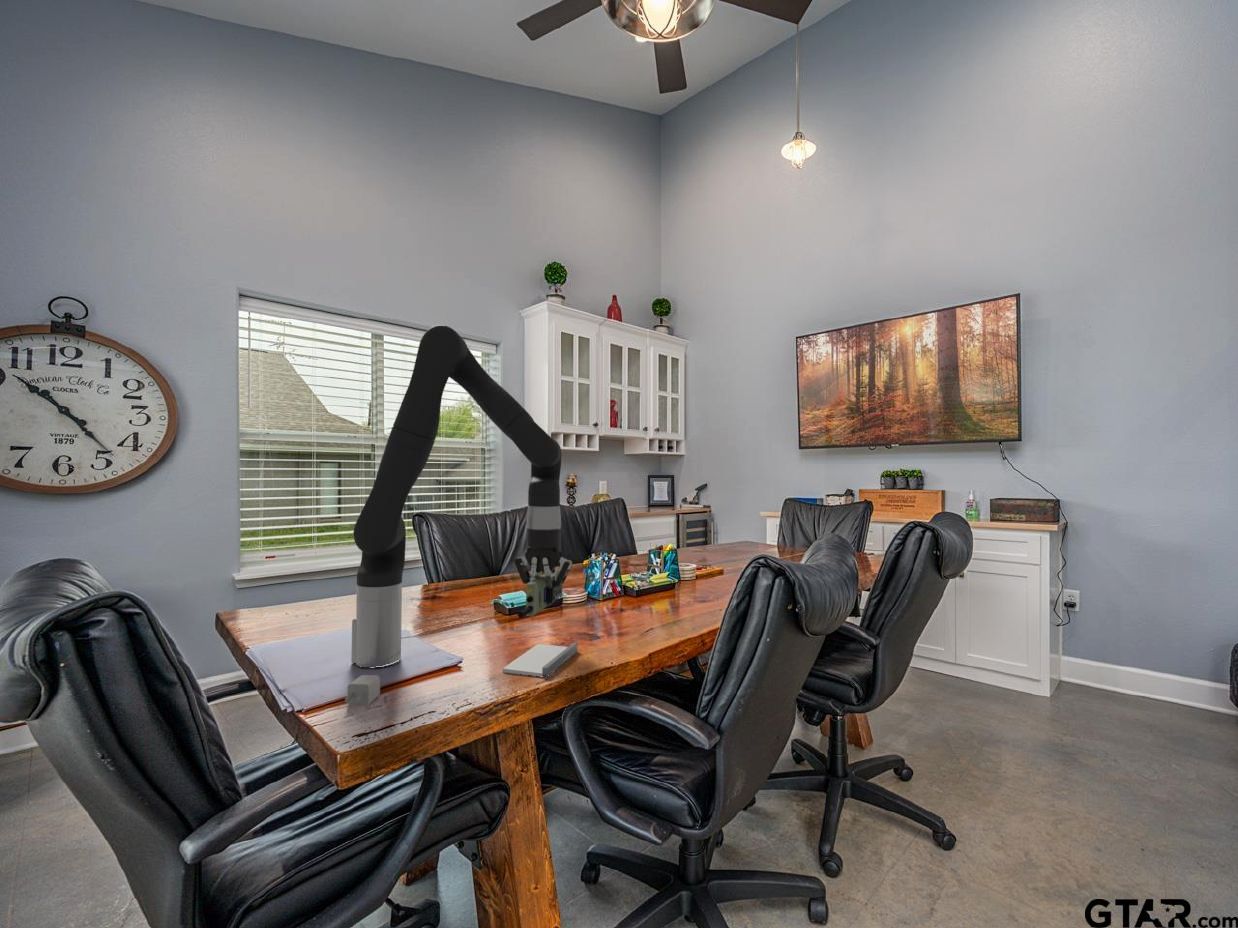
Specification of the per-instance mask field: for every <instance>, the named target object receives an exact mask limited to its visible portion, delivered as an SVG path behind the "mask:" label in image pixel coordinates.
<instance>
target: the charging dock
mask: <svg viewBox="0 0 1238 928" xmlns="http://www.w3.org/2000/svg"><path fill="white" fill-rule="evenodd" d="M578 649H579V648H578V642H572V643H571V644H570V645H569V646H561V645H560V646H559V645H555V644H554V645H552V644H543V643H538V644H536V645H534V646H533V647H531V649H529V650H527V651H526V652H524V653H523V654H522V655H520V656H518V657H517V658H515V659H514V660H513V661H511V662H510V663H509V664H506V666H504V667H503V668H502V673H506V674H513V675H520V674H521V676H522V675H523V676H528V675H532V676H531V677H536V676H543V677H542V678H544V677H547V676H548V675H549V676H551V675H552V674H553V673H554V672H555V671H556V670H558V669H559V668H560V667H561V666H562V665H564V662H565V661H566V662H567V661H568V660H569V659H571V658H572V657H573V656H574V655H575V654H577V653H578ZM566 662H565V663H566ZM558 667H559V668H558ZM557 668H558V669H557ZM553 671H554V672H553ZM552 672H553V673H552ZM551 673H552V674H551ZM550 674H551V675H550ZM549 676H548V677H549ZM548 677H547V678H548Z"/></svg>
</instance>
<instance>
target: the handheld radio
mask: <svg viewBox="0 0 1238 928" xmlns="http://www.w3.org/2000/svg"><path fill="white" fill-rule="evenodd" d="M560 571H561V568H556V579H557V577H558V575H559V573H560ZM563 584H564V583H563ZM563 584H562V585H560V586H556V588H555V601H556V600H558V599H559V598H561V597H562V596H563V589H564V587H563ZM525 585H526V586H525V587H526V589H525V590H526V591H525V592H526V595H525V608H524V609H522V610H520V611H519V612H518V613H517V617H518V618H519V619H523V618H525V617H527V616H528V617H533V616H535V615H537V614H538V613H539V612H540V611H543V609H545V608H546V607H548V606H549V605H546V603H547V602H546V589H547V588H548V587H547V580H546V578H545V573H544V574H541V575H540V577H538V578H536V579H534V580H532V581H531V582H529V583H527V584H525Z"/></svg>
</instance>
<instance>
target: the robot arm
mask: <svg viewBox="0 0 1238 928" xmlns="http://www.w3.org/2000/svg"><path fill="white" fill-rule="evenodd" d="M449 378H450V379H451V380H453V381H454V382H455V383H457V384H458V385H459V386H460V387H462V389H463V390H465V391H466V393H467V394H469V396H470V397H471V398H472V399H473V400H474V402H476V403H477V405H478V406H479V407H480V409H481V410H482V411H483V413H484V414H485V416H487V417H488V419H490V420H491V422H493V424H495V426H496V427H497V428H498V429H499V430H500V432H502V433H503V434H504V435H505V436H506V437H507V438H509V439H510V441H512V442H513V444H514V445H515V446H516V447H517V448H518V450H519V452H520V453H522V454H523V456H524V457H525V459H527V460H528V461H529V462H530V467H531V468H530V481H529V483H528V490H527V492H528V493H527V494H528V495H527V496H528V498H527V512H526V513H527V514H526V552H524V555H523V556H519V557H517V558H515V559H514V561H513V562H514V565H515V567H516V570H517V573H518V574H519V578H520V579H521V582H522V584H524V585H527V583H529V582H531V581H532V580H534V579H536V578H538V577H540V576H542V574H543V573H544V574H545V578H546V580H547V587H548V588H547V589H546V602H547V603H546V605H548V606H551V605H553V604H554V602H555V601H556V600H555V588H556V586H560V585H562V584H564V583H565V581H566V579H567V577H568V575H569V573H570V571H571V568H572V566H573V564H574V562H573V560H572V559H567V558H564V557H563V554H562V552H561V547H562V546H561V541H562V540H561V536H562V534H561V533H562V532H561V531H562V528H561V527H562V521H561V519H562V518H561V507H560V506H561V488H560V478H561V469H562V448H561V446H560V444H559V442H558V441H557V440H556V439H554V438H552V436H550V435H549V434H548V433H547V432H546V431H545V430H544V429H543V428H542V427H541V426H540V425H539V424H538V423H536V422H535V420H534V418H533V417H532V416H531V414H529V412H528V411H527V410H526V409H525V408H524V407H523V405H521V404H520V403H519V401H517V400H516V399H515V398H514V397H513V396H512V395H511V394H510V393H509V392H508V391H507V390H506V389H504V388H503V387H502V386H501V385H500V384H499V383H498V382H496V381H495V379H493V378H492V376H491V375H489V374H488V372H487V371H485V369H484V367H482V366H481V364H480V362H479V361H478V360H477V359H476V357H475V356H474V355H473V353H472V351H471V350H470V349H469V347H468V345H467V343H466V341H465V339H463V337H462V335H460V334H459V333H458V332H457V331H456V330H455V329H453V328H452V327H450V326H448V325H443V324H439V325H434V326H432V327H431V328H429V329H427V330H426V331H425V332H424V334H423V335H422V337H421V339H420V341H419V345H418V349H417V353H416V358H415V361H414V364H413V369H412V374H411V377H410V382H409V383H408V386H407V388H406V391H405V393H404V396H403V399H402V401H401V404H400V407H399V409H398V411H397V415H396V417H395V420H394V422H393V424H392V427H391V429H390V433H389V436H388V439H387V440H386V441H387V442H386V444H385V447H384V450H383V451H384V452H383V453H382V457H381V460H380V463H379V466H378V470H377V473H376V477H375V480H374V483H373V486H372V489H371V491H370V493H369V495H368V497H367V499H366V501H365V504H364V506H363V507H362V509H361V511H360V513H359V516H358V518H357V520H356V522H355V524H354V527H353V533H352V534H353V539H354V543H355V546H356V547H357V548H358V549H359V550H360V551H361V561H360V565H359V568H358V570H357V572H356V598H355V599H356V600H355V601H356V602H355V603H356V607H355V609H356V610H355V613H356V614H355V618H353V619H352V620H351V659H350V660H351V662H352V663H356V664H355V666H356V665H358V666H361V667H376V666H383V665H386V664H390V663H393V662H395V661H397V660H399V659H400V658H401V659H402V621H403V620H402V615H403V614H402V607H403V593H402V592H403V574H404V573H403V572H404V569H405V562H406V543H407V541H406V540H407V539H406V538H407V537H406V536H407V533H406V532H407V531H406V523H405V521H404V519H403V517H402V515H403V511H404V507H405V504H406V502H407V499H408V496H409V494H410V493H411V490H412V488H413V486H414V485H415V484H416V482H417V481H418V479H419V477H420V476H421V473H422V472H423V470H424V468H425V466H426V464H427V462H428V461H429V458H430V455H431V453H432V450H433V447H434V445H435V442H436V438H437V436H438V431H439V426H440V418H441V408H442V398H443V395H444V394H443V393H444V391H445V387H446V385H447V383H448V381H449ZM559 563H560V565H559V568H560V569H561V571H560V573H559V575H558V577H557V579H556V569H557V566H558V564H559ZM527 565H529V566H530V571H529V568H528V566H527ZM352 663H351V664H352ZM358 666H357V667H358ZM361 667H360V668H361Z"/></svg>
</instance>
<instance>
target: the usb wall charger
mask: <svg viewBox="0 0 1238 928" xmlns="http://www.w3.org/2000/svg"><path fill="white" fill-rule="evenodd" d="M346 689H347V690H346V693H347V694H346V697H345V699H344V703H347V705H348V706H351V707H368V706H369V705H370V704H371V703H372V702H373V701H375V700H376V699H377V698H378V697H379V696H380V694H381V678H380V676H379V675H376V674H375V675H371V674H369V675H368V674H367V675H366V674H362V675H360V676H358V677H357V678H355V680H353V681H352V682H351V683H349V684H348V685H347V688H346Z"/></svg>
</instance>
